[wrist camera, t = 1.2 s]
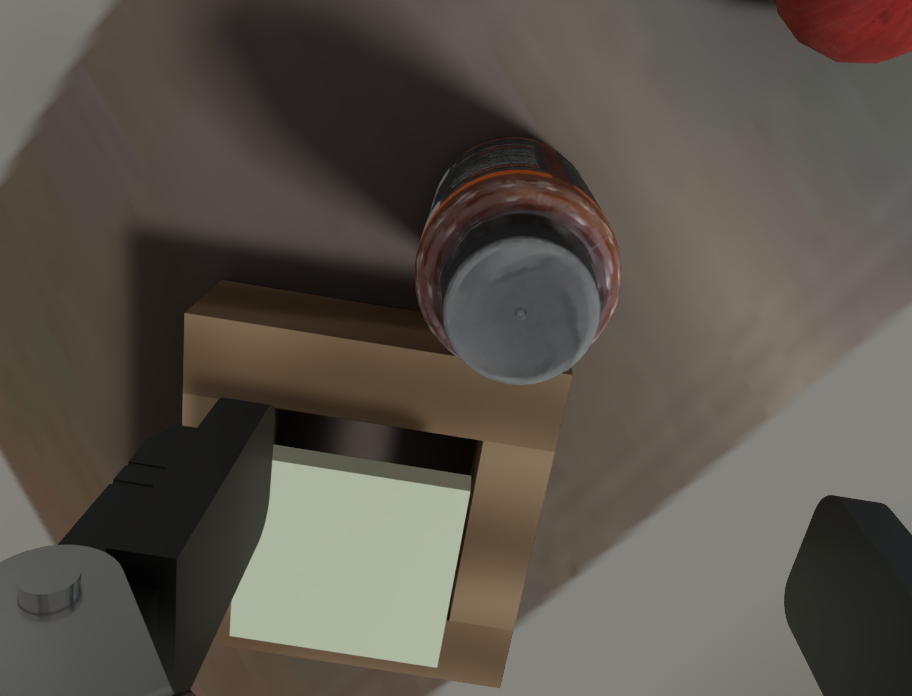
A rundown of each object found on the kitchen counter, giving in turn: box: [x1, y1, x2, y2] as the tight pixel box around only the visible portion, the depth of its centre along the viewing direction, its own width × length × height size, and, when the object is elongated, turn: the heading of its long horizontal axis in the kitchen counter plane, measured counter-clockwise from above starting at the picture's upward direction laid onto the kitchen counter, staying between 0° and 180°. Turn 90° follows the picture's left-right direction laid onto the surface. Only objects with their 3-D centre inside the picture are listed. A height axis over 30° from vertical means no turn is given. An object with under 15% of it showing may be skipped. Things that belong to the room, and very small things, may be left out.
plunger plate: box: [230, 445, 471, 668], centre depth 28 cm, size 8×8×1 cm
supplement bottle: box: [415, 137, 622, 385], centre depth 24 cm, size 6×6×11 cm
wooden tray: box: [182, 280, 573, 688], centre depth 32 cm, size 15×14×4 cm
